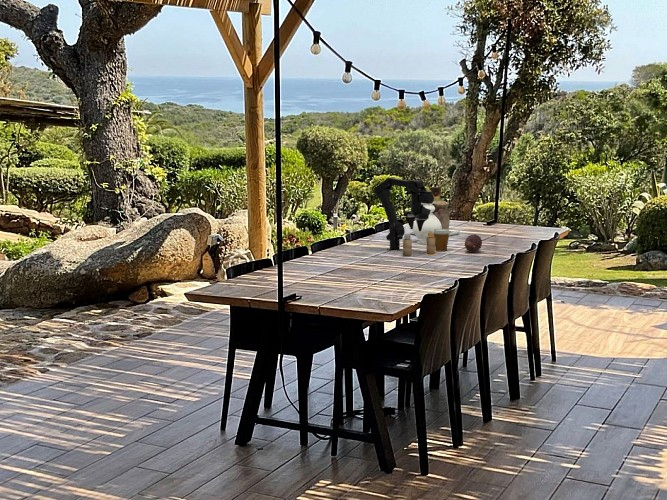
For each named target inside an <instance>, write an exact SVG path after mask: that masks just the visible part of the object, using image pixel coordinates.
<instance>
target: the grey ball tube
mask: <svg viewBox="0 0 667 500" xmlns="http://www.w3.org/2000/svg"><path fill="white" fill-rule="evenodd" d="M411 237H412V236H411V234H410V233H404V235H403V238H402V255H403V256H407V257H406V258H409V257H408V256H412V255H413V253H412V251H413V247H412V246H413V245H412V241H413V239H412V238H411Z"/></svg>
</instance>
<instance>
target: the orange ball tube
mask: <svg viewBox="0 0 667 500" xmlns="http://www.w3.org/2000/svg"><path fill="white" fill-rule="evenodd" d="M425 253H426V254H430V255H429V256H434V255H433V254H435V253H436V248H435V237H434V233H433V232H429V233H428V237H427V244H426V252H425ZM426 254H425V255H426Z"/></svg>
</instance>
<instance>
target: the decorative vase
mask: <svg viewBox="0 0 667 500" xmlns="http://www.w3.org/2000/svg"><path fill="white" fill-rule="evenodd" d="M433 203H434V202H433ZM433 203H432V204H433ZM421 204H423V206H424V207H425V208H427V209H430V210H431V211H430V214H429V219H427V220H426V221H425V222H424V224H423V226H422V229H421V231H419V230H418V226H417V222H416V219H414V224H413V229H411V230H412V233H414V234H413V235H415V236H416V238H417V239H418V240H417V241H416V243H417V244H418V245H419V244H421V245H427V237H428V233H429V232H434V229H442V226H441V223H440V221H439V220H438V218H437V217H436V216H435V215H434V214H433V213H432V212H433V211H434V210H435V207H434V206H433V205H432V204H427V203H421Z"/></svg>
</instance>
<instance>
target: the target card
mask: <svg viewBox="0 0 667 500" xmlns="http://www.w3.org/2000/svg"><path fill="white" fill-rule="evenodd" d="M424 255H426V256H431V255H430V254H426V252H425V253H424ZM436 255H438V253H436V252H435V254H433V255H432V256H436ZM400 257H402V258H403V257H404V258H411V257H414V255H413V254H412V256H408V257H407V256H403V254H401V255H400Z"/></svg>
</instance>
